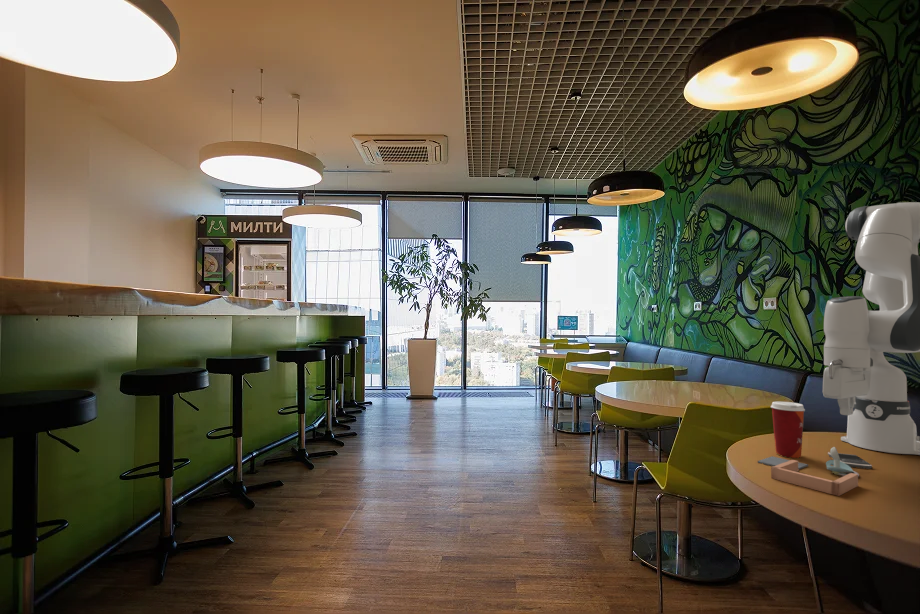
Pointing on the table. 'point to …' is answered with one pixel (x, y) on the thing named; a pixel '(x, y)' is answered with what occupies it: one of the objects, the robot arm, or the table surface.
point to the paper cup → (788, 428)
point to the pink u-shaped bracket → (813, 479)
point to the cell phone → (853, 461)
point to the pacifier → (838, 464)
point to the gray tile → (779, 462)
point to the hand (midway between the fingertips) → (846, 414)
